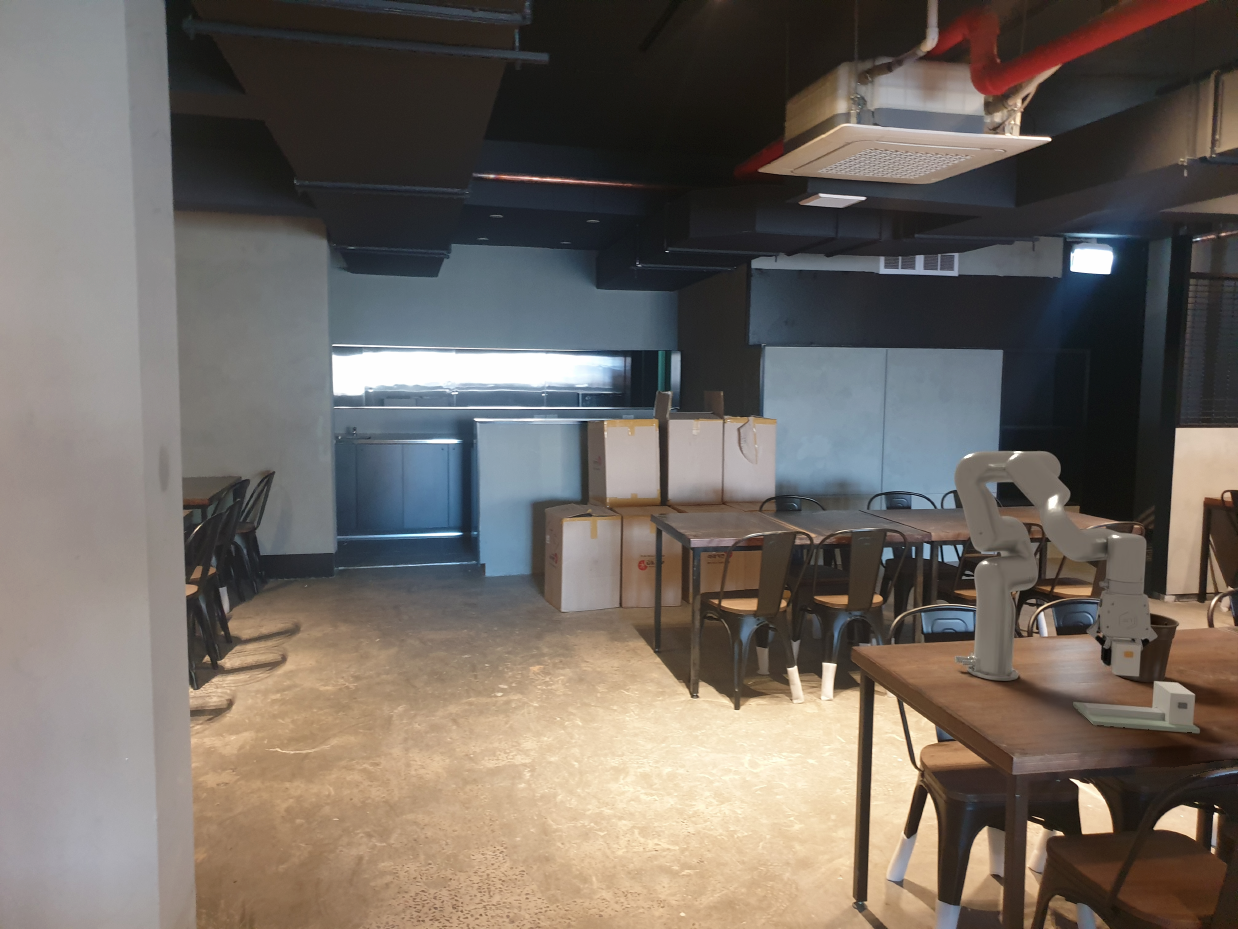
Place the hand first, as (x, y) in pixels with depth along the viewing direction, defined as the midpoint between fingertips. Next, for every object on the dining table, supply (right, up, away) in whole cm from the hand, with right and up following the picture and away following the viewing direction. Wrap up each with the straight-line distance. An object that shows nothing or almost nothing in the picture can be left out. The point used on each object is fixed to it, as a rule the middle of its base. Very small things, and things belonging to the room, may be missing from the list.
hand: (1119, 664), depth 192 cm
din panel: (+4, -13, +1) cm, 13 cm away
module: (0, -1, 0) cm, 1 cm away
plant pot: (+24, -11, +32) cm, 41 cm away
